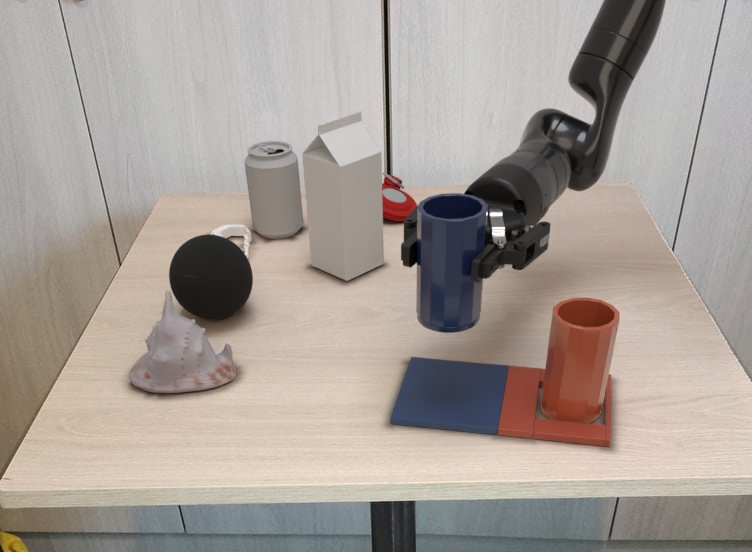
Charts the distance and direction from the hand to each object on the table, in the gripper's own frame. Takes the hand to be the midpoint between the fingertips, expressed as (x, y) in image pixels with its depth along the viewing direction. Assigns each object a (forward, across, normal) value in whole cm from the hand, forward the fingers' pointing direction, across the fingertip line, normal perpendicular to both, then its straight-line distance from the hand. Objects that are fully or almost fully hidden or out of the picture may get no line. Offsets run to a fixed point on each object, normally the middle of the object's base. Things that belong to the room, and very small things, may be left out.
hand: (440, 264), depth 74 cm
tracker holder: (-45, -30, +17) cm, 57 cm away
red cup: (-7, +12, +16) cm, 22 cm away
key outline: (-23, -43, +17) cm, 52 cm away
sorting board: (-5, +6, +16) cm, 18 cm away
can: (-31, -41, +17) cm, 54 cm away
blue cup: (-2, 0, +6) cm, 7 cm away
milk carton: (-25, -26, +17) cm, 40 cm away
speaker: (-6, -34, +17) cm, 38 cm away
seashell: (+6, -29, +16) cm, 34 cm away
